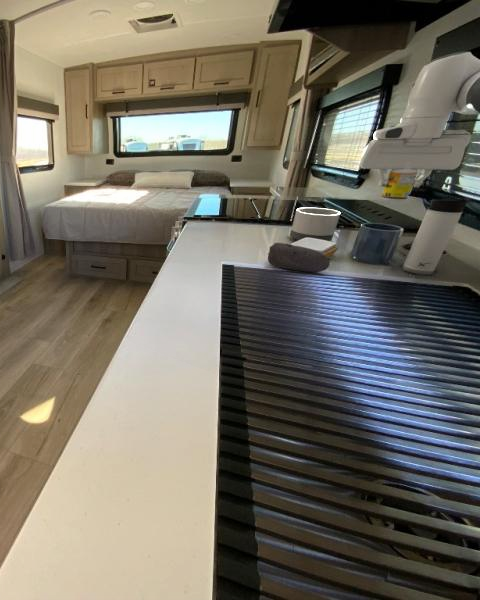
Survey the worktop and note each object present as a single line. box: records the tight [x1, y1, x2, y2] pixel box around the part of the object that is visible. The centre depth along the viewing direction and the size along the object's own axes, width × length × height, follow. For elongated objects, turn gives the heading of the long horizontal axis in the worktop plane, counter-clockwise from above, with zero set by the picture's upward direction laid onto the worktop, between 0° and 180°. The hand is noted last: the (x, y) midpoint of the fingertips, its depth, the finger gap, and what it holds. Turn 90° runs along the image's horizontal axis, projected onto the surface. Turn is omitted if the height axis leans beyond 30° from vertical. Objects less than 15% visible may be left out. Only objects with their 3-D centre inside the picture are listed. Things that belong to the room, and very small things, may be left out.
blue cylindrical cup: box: [349, 222, 405, 266], centre depth 99 cm, size 10×10×10 cm
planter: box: [289, 207, 342, 242], centre depth 117 cm, size 13×13×10 cm
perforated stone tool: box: [267, 242, 331, 273], centre depth 93 cm, size 15×5×7 cm, turn 52°
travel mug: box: [401, 198, 471, 276], centre depth 87 cm, size 6×7×20 cm
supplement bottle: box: [380, 162, 419, 203], centre depth 91 cm, size 6×6×10 cm
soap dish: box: [290, 237, 340, 259], centre depth 102 cm, size 12×10×5 cm
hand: (397, 186), depth 91 cm, fingers closed on supplement bottle, 5 cm apart
